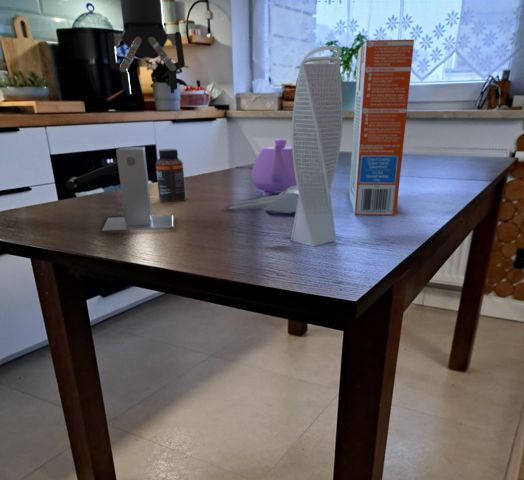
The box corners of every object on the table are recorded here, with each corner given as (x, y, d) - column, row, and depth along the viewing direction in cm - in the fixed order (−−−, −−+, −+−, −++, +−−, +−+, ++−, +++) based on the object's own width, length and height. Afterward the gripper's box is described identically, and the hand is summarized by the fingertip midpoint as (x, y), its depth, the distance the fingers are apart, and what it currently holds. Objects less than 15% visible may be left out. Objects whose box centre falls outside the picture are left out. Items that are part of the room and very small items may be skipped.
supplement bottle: (189, 200, 119) (185, 148, 114) (181, 205, 114) (177, 150, 109) (164, 200, 120) (160, 148, 115) (155, 205, 115) (150, 150, 110)
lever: (69, 193, 87) (62, 180, 86) (74, 189, 91) (67, 175, 90) (141, 165, 87) (135, 150, 86) (143, 161, 91) (137, 148, 90)
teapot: (308, 201, 117) (309, 143, 112) (246, 200, 118) (244, 143, 113) (309, 186, 135) (311, 136, 129) (255, 186, 136) (255, 136, 131)
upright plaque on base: (102, 237, 89) (90, 152, 82) (109, 224, 97) (98, 146, 91) (173, 234, 90) (166, 150, 84) (173, 221, 99) (166, 144, 93)
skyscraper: (313, 232, 90) (319, 47, 78) (347, 240, 85) (359, 44, 73) (281, 240, 85) (282, 45, 73) (314, 249, 80) (322, 41, 68)
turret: (236, 216, 113) (231, 194, 111) (327, 203, 109) (324, 180, 107) (226, 226, 104) (221, 202, 102) (325, 213, 100) (322, 188, 98)
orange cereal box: (396, 215, 102) (414, 39, 89) (354, 215, 103) (366, 40, 90) (383, 195, 123) (396, 49, 109) (349, 195, 123) (358, 50, 110)
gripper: (178, -1, 100) (186, 93, 107) (103, -2, 98) (115, 94, 105) (180, -8, 93) (187, 93, 100) (98, -8, 91) (112, 94, 98)
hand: (150, 93), depth 103 cm, fingers open, 8 cm apart
